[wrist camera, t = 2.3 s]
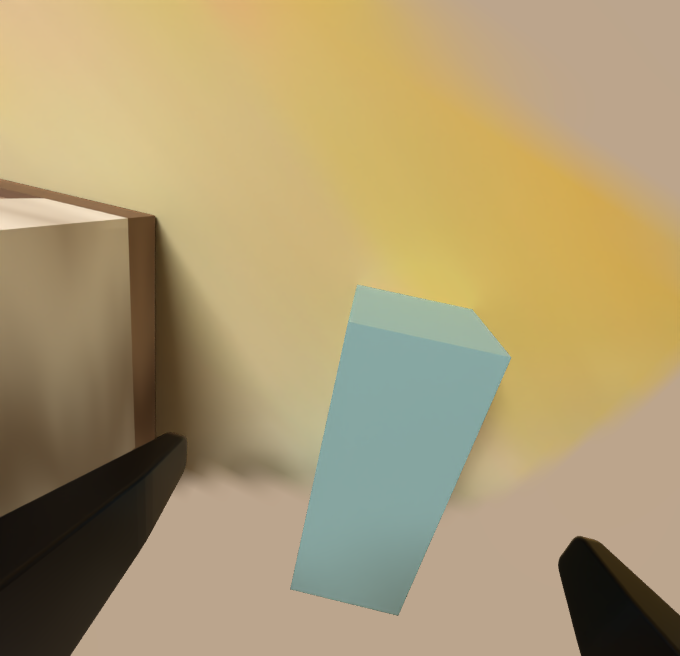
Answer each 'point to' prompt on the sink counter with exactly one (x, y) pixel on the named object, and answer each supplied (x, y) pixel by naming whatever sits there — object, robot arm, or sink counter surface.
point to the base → (72, 338)
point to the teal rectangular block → (394, 444)
